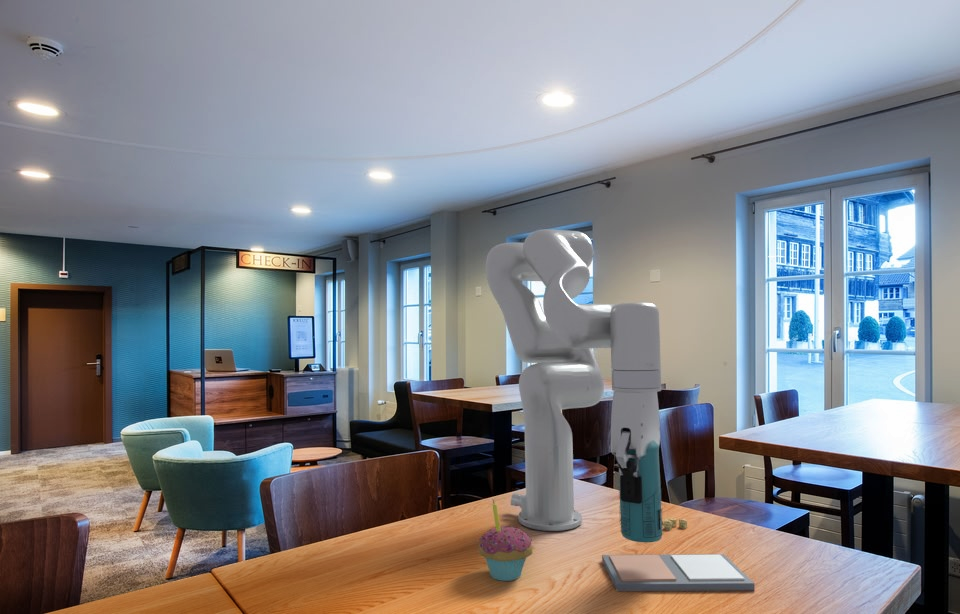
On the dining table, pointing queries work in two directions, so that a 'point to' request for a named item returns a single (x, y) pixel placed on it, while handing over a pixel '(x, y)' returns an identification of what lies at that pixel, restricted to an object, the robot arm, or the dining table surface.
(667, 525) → the dice set
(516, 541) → the cupcake
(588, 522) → the dining table surface
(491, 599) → the dining table surface
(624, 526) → the beverage bottle
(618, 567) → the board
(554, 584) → the dining table surface
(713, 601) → the dining table surface
